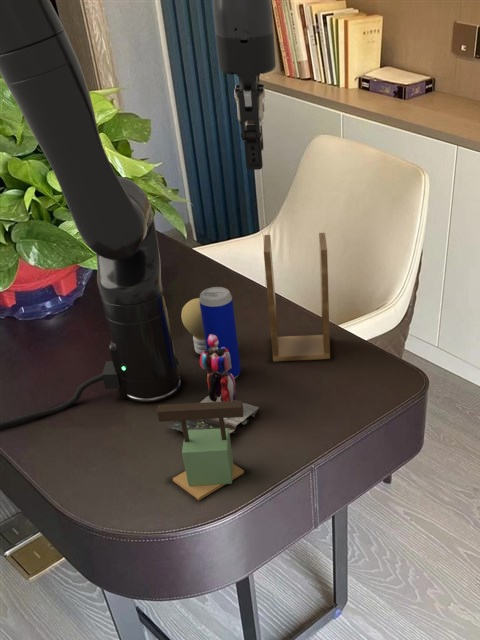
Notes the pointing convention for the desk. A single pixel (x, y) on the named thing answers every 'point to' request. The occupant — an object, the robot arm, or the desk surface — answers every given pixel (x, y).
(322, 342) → the wooden frame
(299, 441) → the desk surface
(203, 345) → the light bulb
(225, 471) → the green block with crossbars
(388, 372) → the desk surface
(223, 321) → the beverage can
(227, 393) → the statue
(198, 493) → the mat
